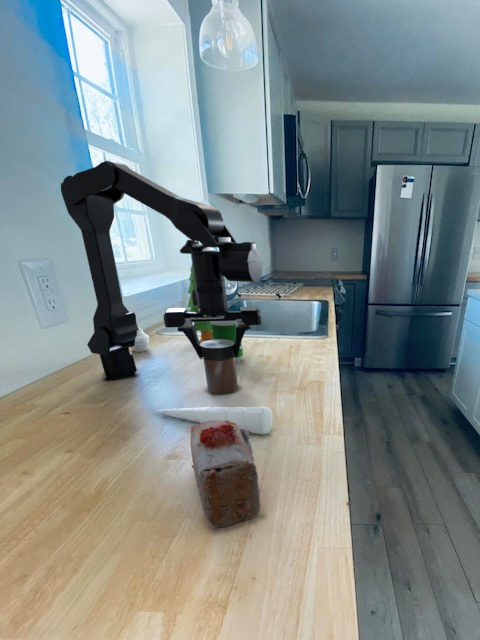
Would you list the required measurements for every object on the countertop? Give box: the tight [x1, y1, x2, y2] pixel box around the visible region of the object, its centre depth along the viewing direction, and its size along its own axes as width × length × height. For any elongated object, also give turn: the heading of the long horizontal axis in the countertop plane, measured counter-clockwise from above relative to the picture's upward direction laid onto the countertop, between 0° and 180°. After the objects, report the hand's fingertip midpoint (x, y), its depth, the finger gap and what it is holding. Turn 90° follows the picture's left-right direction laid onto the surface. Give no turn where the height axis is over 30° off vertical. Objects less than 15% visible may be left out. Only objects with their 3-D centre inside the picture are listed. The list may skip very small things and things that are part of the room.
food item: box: [190, 420, 261, 528], centre depth 47 cm, size 14×8×10 cm, turn 24°
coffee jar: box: [202, 356, 239, 395], centre depth 80 cm, size 7×7×10 cm
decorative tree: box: [186, 241, 213, 343], centre depth 108 cm, size 10×9×30 cm
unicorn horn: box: [156, 406, 274, 435], centre depth 67 cm, size 5×24×5 cm, turn 69°
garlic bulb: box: [130, 326, 150, 353], centre depth 106 cm, size 6×6×7 cm
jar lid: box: [200, 339, 236, 360], centre depth 78 cm, size 7×7×2 cm
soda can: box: [211, 316, 244, 364], centre depth 98 cm, size 8×8×12 cm
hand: (219, 357), depth 79 cm, fingers closed on jar lid, 7 cm apart
